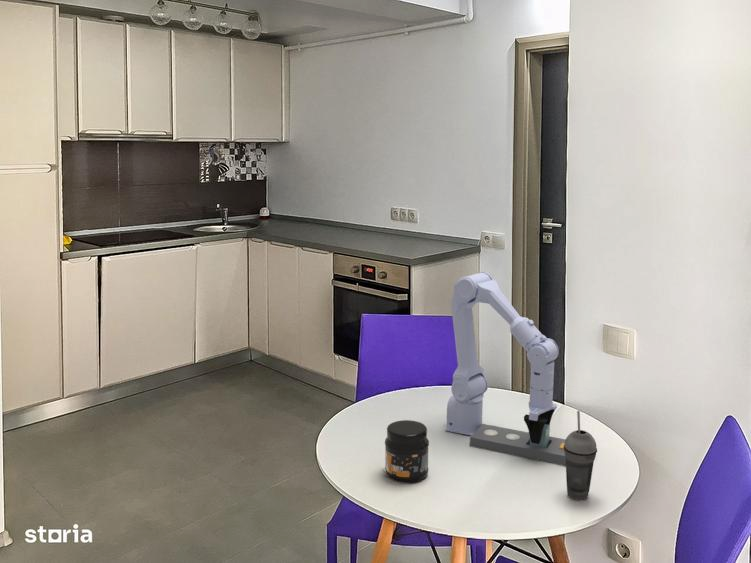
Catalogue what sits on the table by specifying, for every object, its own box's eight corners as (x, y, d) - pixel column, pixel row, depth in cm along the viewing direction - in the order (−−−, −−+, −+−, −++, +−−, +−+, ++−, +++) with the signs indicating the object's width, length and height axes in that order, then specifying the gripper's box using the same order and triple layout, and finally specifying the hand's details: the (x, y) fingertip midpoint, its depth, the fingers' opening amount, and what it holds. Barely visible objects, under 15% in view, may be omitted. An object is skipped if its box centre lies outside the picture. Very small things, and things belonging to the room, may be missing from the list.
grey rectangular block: (529, 453, 184) (530, 426, 182) (533, 447, 187) (534, 421, 186) (544, 456, 182) (545, 429, 181) (548, 450, 186) (549, 423, 184)
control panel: (469, 446, 188) (470, 435, 188) (482, 432, 197) (482, 422, 196) (569, 466, 176) (570, 455, 176) (578, 450, 185) (578, 440, 184)
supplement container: (376, 475, 172) (375, 428, 170) (402, 460, 180) (402, 415, 178) (411, 489, 165) (411, 440, 163) (437, 472, 173) (437, 426, 171)
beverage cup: (576, 507, 157) (581, 421, 153) (554, 492, 163) (558, 410, 159) (601, 499, 160) (606, 415, 156) (578, 485, 167) (582, 404, 163)
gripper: (550, 398, 173) (547, 451, 176) (564, 380, 186) (561, 430, 188) (521, 394, 176) (519, 445, 179) (537, 376, 189) (535, 425, 192)
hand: (539, 437), depth 184 cm, fingers open, 7 cm apart
